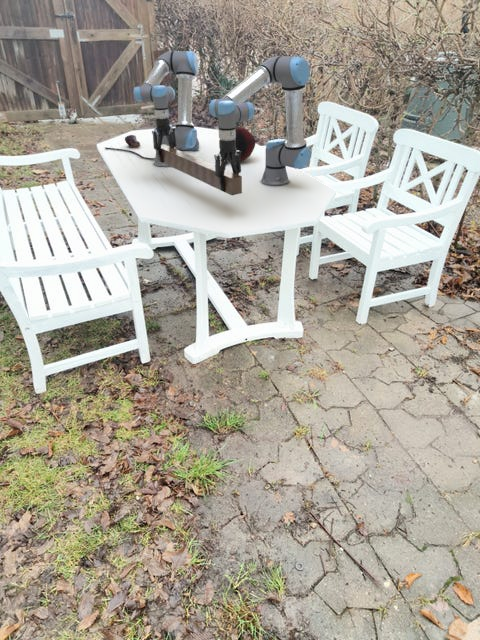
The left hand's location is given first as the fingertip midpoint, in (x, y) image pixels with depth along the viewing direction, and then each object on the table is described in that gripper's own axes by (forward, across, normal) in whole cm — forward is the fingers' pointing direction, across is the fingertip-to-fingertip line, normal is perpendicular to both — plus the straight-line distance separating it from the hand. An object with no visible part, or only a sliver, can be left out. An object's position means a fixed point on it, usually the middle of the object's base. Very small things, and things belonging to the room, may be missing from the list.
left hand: (166, 160), depth 258 cm
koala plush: (+12, +47, +58) cm, 76 cm away
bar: (0, 0, -32) cm, 32 cm away
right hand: (0, -1, -64) cm, 64 cm away
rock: (+12, +18, +87) cm, 90 cm away
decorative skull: (+12, +58, +11) cm, 61 cm away
